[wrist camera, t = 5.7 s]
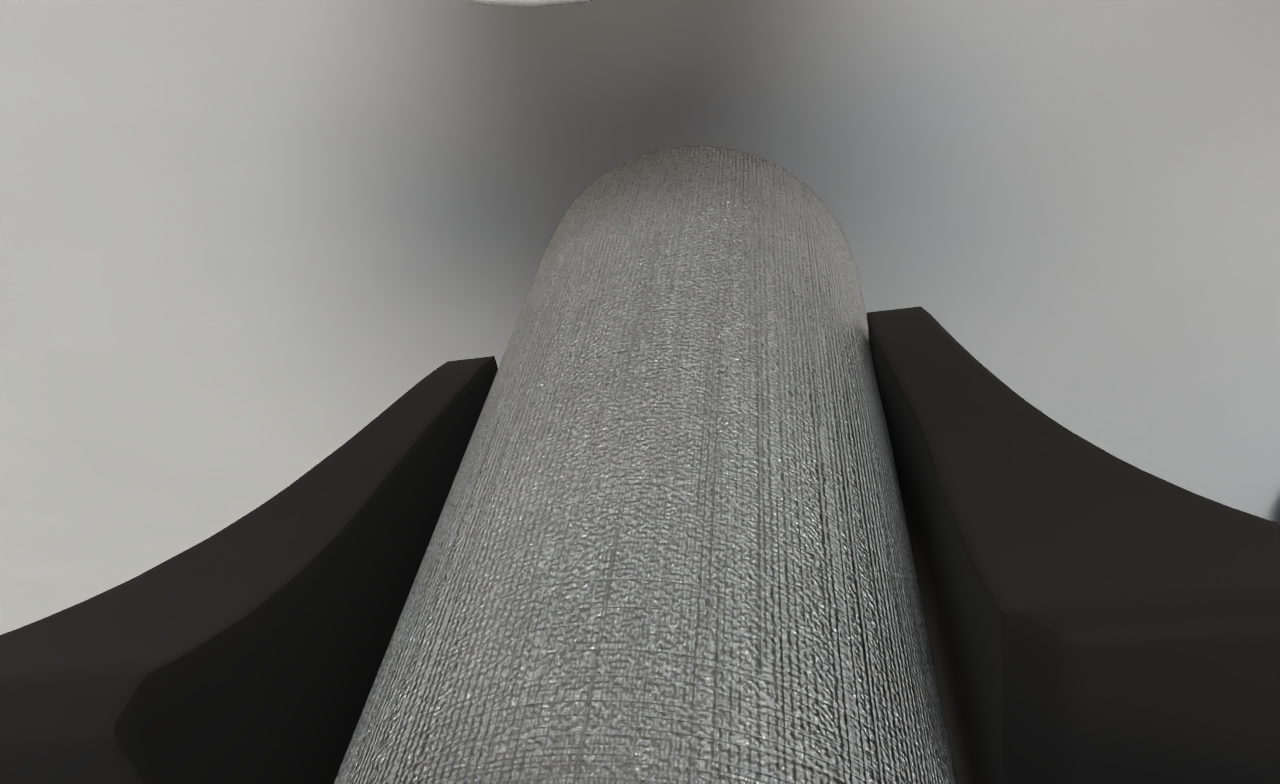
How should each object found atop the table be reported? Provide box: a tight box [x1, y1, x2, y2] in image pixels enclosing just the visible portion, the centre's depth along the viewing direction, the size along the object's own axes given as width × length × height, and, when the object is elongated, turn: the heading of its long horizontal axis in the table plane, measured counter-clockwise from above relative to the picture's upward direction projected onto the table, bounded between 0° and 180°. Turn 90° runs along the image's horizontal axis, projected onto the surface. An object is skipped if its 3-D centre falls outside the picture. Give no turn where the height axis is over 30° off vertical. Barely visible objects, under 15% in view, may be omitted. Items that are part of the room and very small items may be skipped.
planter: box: [334, 146, 958, 784], centre depth 11 cm, size 4×4×10 cm
